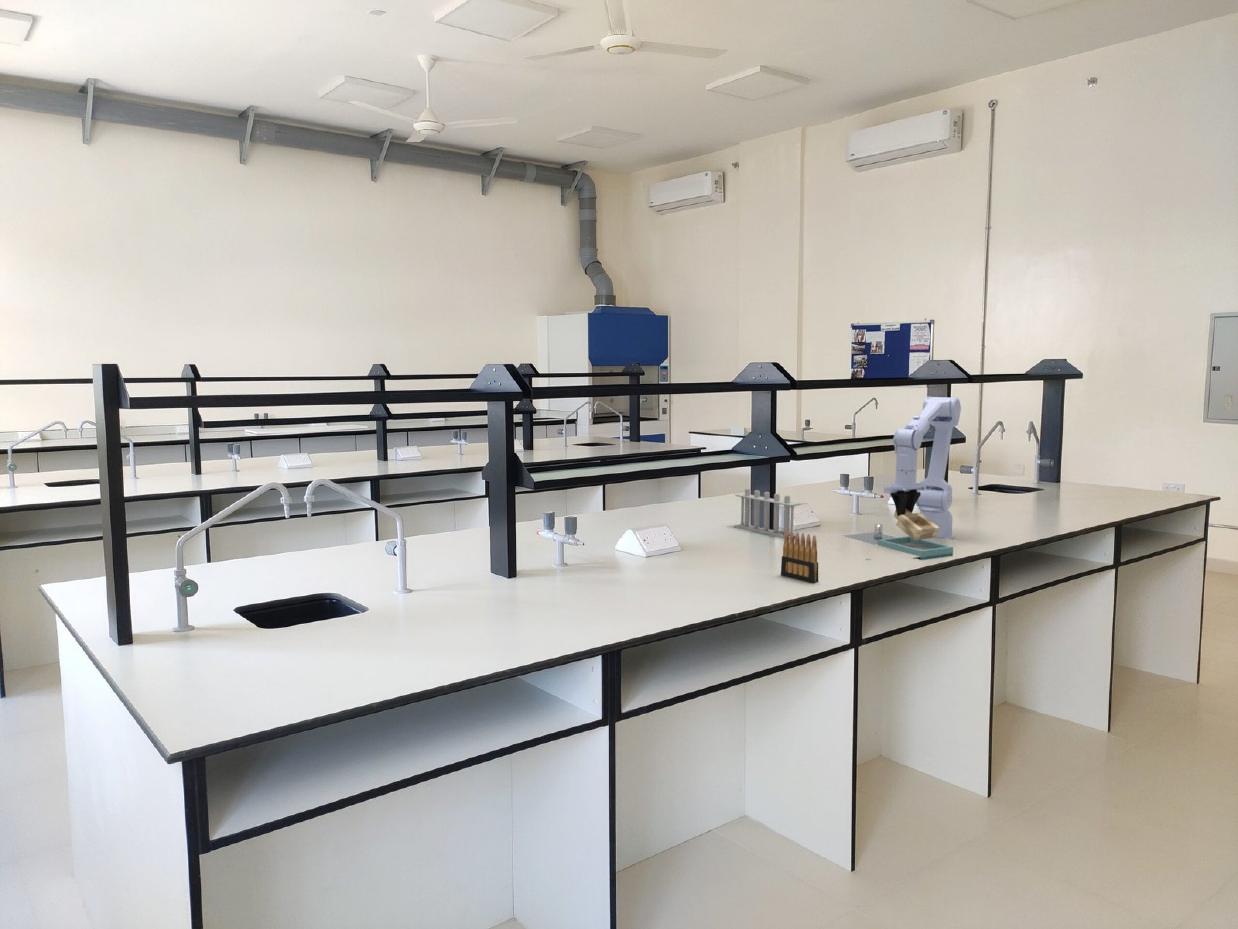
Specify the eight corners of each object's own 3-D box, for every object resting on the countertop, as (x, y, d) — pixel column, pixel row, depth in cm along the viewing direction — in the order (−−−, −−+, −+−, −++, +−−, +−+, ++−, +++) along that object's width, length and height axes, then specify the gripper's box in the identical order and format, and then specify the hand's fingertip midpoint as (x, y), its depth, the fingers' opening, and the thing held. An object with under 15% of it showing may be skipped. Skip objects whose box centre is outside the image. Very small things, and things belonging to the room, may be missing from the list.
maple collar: (935, 537, 242) (939, 527, 241) (914, 540, 239) (918, 529, 237) (906, 515, 252) (910, 504, 251) (885, 517, 249) (889, 506, 247)
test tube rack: (799, 538, 264) (800, 496, 263) (790, 540, 262) (791, 498, 260) (744, 526, 285) (744, 487, 283) (734, 527, 282) (735, 488, 281)
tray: (908, 544, 255) (908, 536, 254) (952, 555, 240) (953, 547, 239) (877, 548, 250) (878, 539, 249) (921, 560, 234) (921, 551, 234)
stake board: (907, 543, 256) (907, 526, 255) (874, 547, 250) (874, 529, 250) (874, 535, 268) (875, 518, 268) (842, 538, 263) (843, 521, 262)
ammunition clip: (780, 575, 218) (781, 529, 217) (785, 574, 219) (786, 528, 218) (813, 583, 210) (815, 536, 208) (818, 582, 211) (819, 535, 210)
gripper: (914, 467, 253) (912, 512, 254) (877, 469, 246) (875, 515, 248) (932, 469, 246) (930, 515, 248) (894, 472, 240) (893, 519, 242)
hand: (904, 516), depth 247 cm, fingers closed on maple collar, 2 cm apart
